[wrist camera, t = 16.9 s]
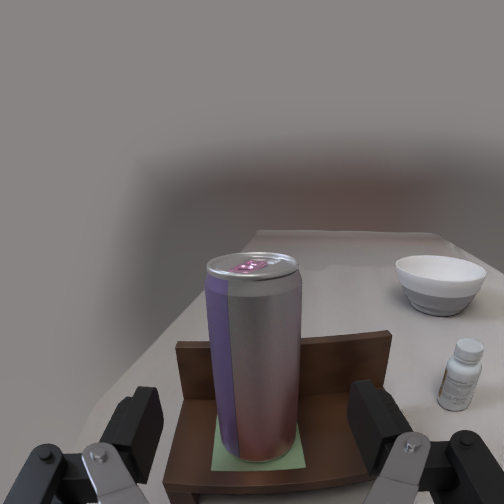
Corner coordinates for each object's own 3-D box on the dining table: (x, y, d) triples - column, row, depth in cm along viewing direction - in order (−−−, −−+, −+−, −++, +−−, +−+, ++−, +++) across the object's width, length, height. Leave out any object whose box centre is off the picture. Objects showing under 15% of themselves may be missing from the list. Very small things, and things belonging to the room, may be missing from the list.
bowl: (374, 298, 64) (376, 259, 62) (437, 286, 68) (441, 252, 66) (434, 335, 45) (442, 287, 43) (496, 312, 49) (504, 273, 47)
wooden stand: (172, 507, 19) (143, 427, 17) (190, 420, 31) (177, 340, 28) (412, 485, 19) (448, 401, 17) (373, 408, 31) (387, 329, 29)
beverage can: (207, 450, 22) (182, 268, 18) (244, 410, 27) (236, 248, 24) (275, 476, 19) (277, 281, 16) (306, 428, 24) (315, 255, 21)
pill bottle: (449, 386, 32) (464, 331, 30) (475, 400, 28) (493, 344, 26) (429, 401, 30) (445, 344, 28) (457, 417, 26) (477, 358, 24)
